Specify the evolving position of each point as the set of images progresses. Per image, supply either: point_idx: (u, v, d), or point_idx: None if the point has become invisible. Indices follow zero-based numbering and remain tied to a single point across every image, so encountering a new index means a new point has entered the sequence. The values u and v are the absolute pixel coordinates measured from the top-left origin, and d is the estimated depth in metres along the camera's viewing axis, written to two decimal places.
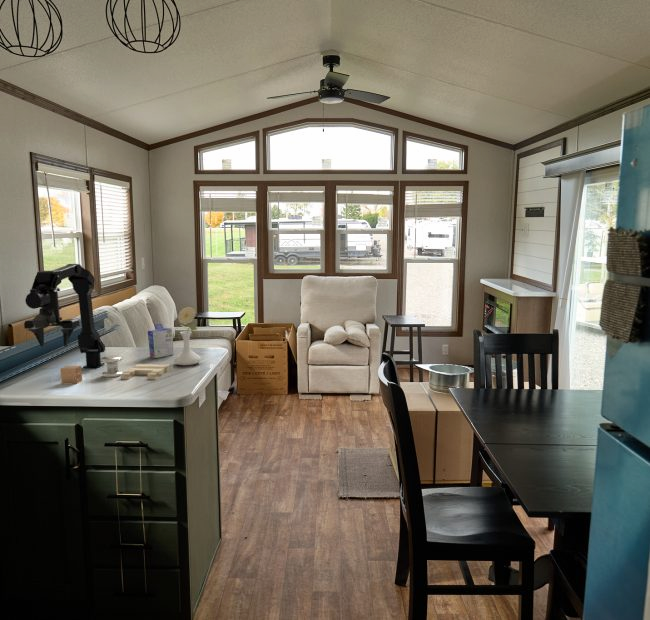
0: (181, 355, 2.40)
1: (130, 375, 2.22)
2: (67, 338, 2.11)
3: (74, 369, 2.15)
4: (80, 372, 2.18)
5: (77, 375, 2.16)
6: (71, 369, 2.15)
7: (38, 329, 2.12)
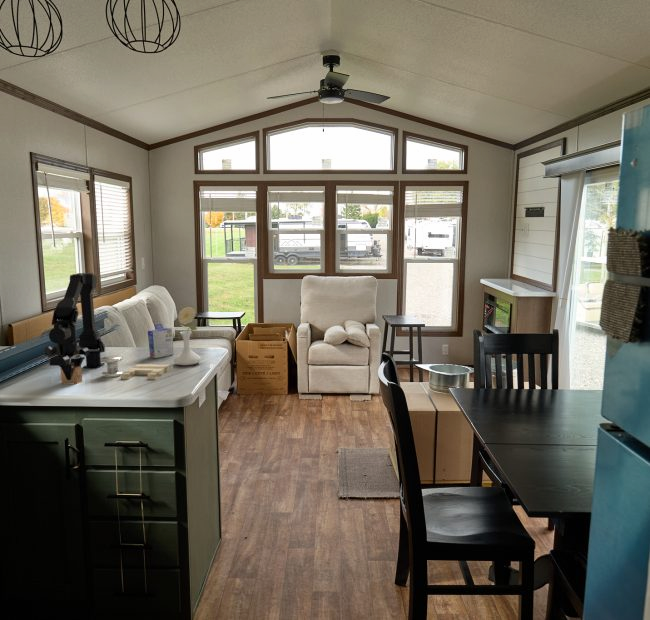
0: (181, 355, 2.40)
1: (130, 375, 2.22)
2: (65, 372, 2.14)
3: (74, 369, 2.15)
4: (80, 372, 2.18)
5: (77, 375, 2.16)
6: None
7: (72, 360, 2.19)
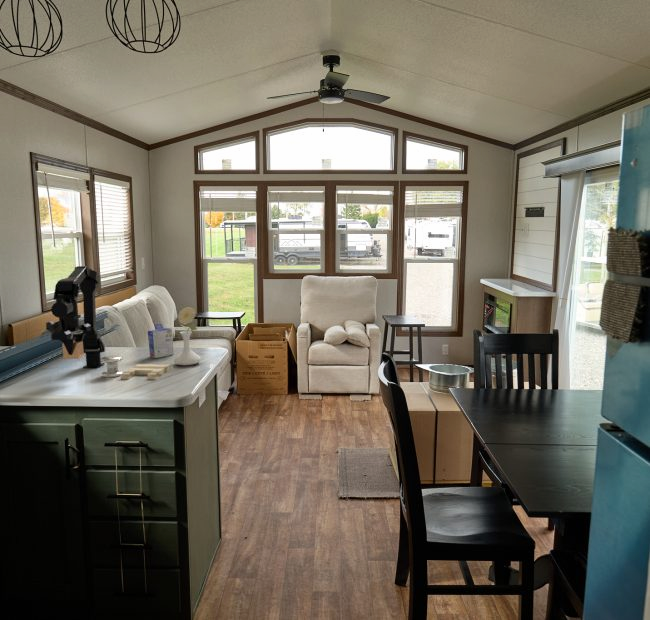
0: (181, 355, 2.40)
1: (130, 375, 2.22)
2: (67, 347, 2.15)
3: (76, 344, 2.16)
4: (82, 347, 2.19)
5: (79, 350, 2.17)
6: None
7: (74, 335, 2.20)
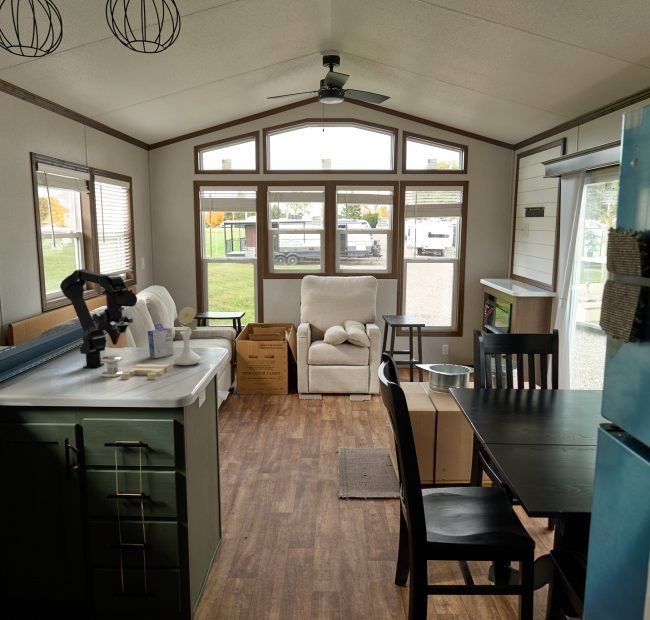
0: (181, 355, 2.40)
1: (130, 375, 2.22)
2: (111, 337, 2.30)
3: (120, 334, 2.31)
4: (125, 337, 2.34)
5: (122, 340, 2.32)
6: None
7: (118, 326, 2.36)
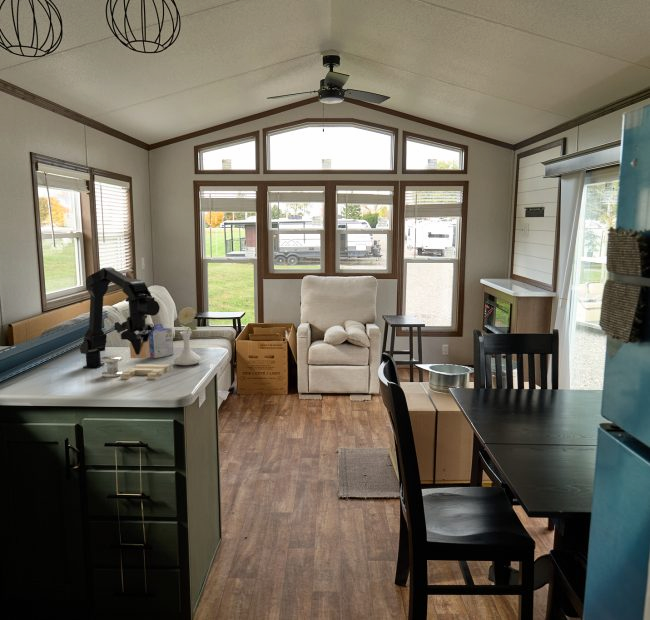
0: (181, 355, 2.40)
1: (130, 375, 2.22)
2: (134, 346, 2.18)
3: (143, 343, 2.19)
4: (148, 347, 2.23)
5: (146, 349, 2.21)
6: None
7: (140, 335, 2.24)
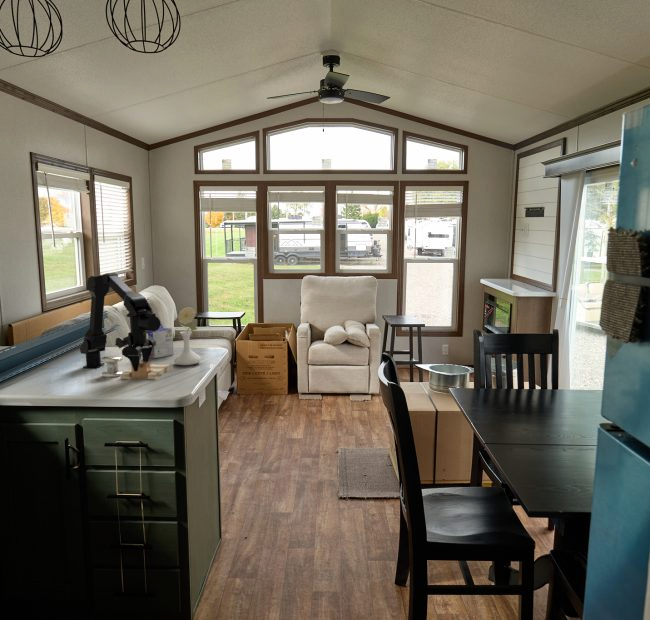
0: (181, 355, 2.40)
1: (130, 375, 2.22)
2: (133, 363, 2.17)
3: (144, 364, 2.21)
4: (149, 367, 2.24)
5: (147, 370, 2.22)
6: (142, 364, 2.21)
7: (143, 349, 2.27)
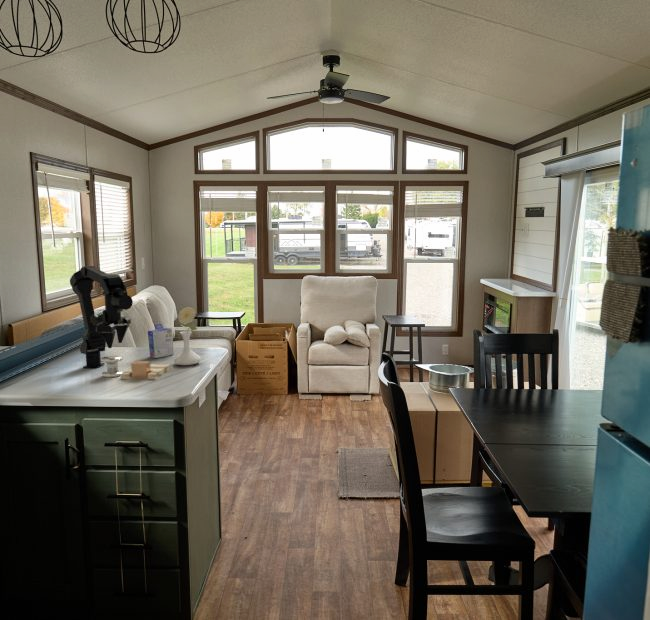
0: (181, 355, 2.40)
1: (130, 375, 2.22)
2: (107, 340, 2.22)
3: (144, 364, 2.20)
4: (149, 367, 2.24)
5: (147, 370, 2.22)
6: (141, 364, 2.21)
7: (118, 326, 2.32)
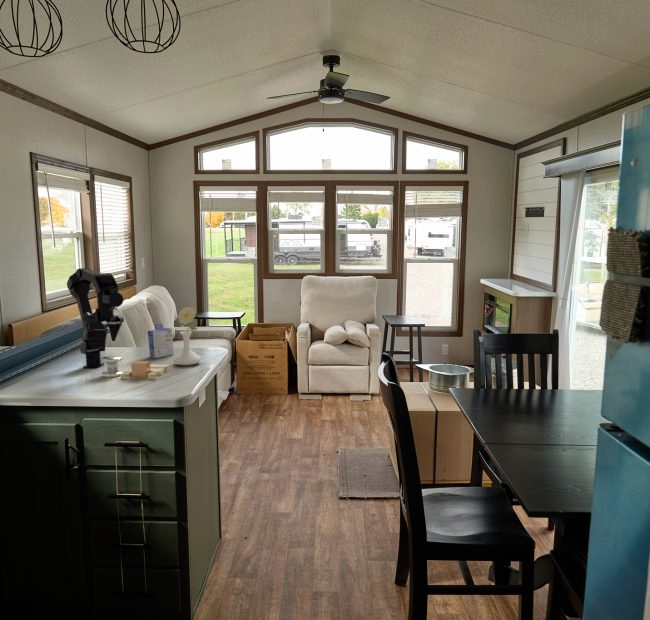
0: (181, 355, 2.40)
1: (130, 375, 2.22)
2: (99, 338, 2.24)
3: (144, 364, 2.20)
4: (149, 367, 2.24)
5: (147, 370, 2.22)
6: (141, 364, 2.21)
7: (111, 325, 2.34)
